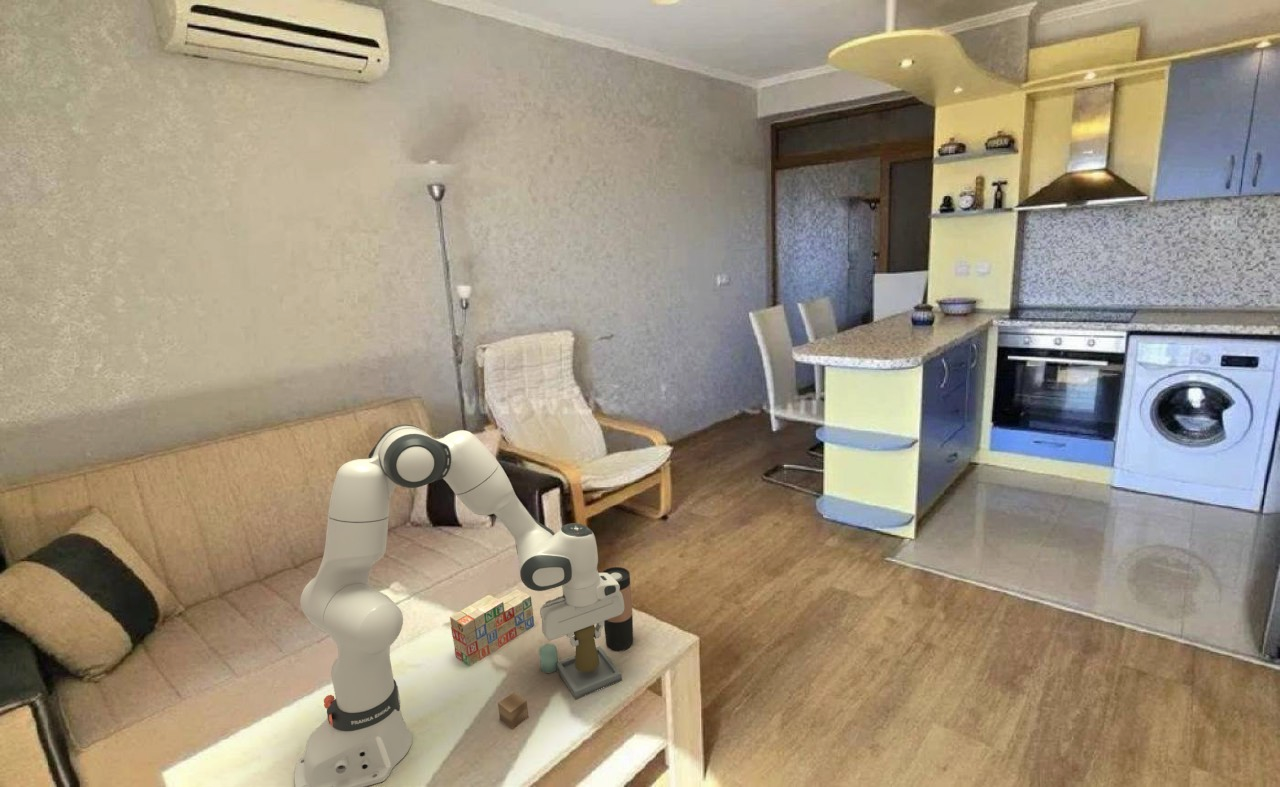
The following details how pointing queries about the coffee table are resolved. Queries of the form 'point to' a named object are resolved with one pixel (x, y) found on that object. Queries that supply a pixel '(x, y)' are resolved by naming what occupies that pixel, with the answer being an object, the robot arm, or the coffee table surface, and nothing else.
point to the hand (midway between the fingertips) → (585, 640)
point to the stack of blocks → (490, 625)
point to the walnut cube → (513, 710)
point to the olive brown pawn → (586, 650)
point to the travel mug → (622, 625)
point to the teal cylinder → (548, 658)
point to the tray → (588, 675)
